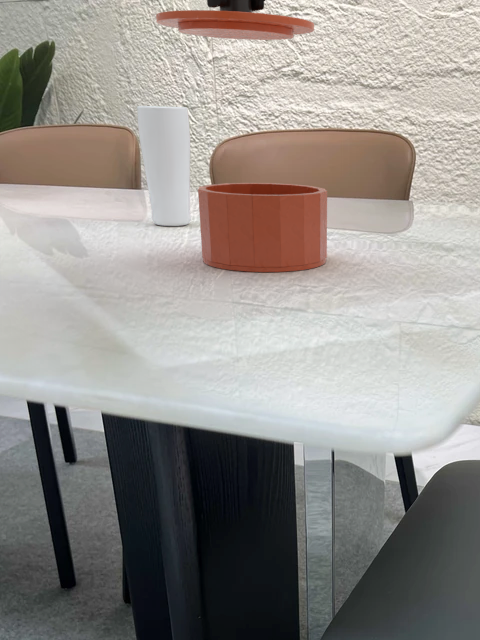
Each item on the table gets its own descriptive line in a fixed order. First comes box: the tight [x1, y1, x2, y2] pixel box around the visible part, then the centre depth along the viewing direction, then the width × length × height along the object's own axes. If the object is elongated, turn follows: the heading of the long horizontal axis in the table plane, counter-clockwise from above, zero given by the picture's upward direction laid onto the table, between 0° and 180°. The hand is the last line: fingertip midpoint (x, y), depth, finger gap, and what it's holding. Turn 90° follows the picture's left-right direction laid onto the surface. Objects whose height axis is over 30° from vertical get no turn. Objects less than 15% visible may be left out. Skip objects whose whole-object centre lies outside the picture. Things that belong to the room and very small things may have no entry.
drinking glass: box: [136, 105, 192, 227], centre depth 106 cm, size 7×7×15 cm
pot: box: [197, 182, 328, 273], centre depth 84 cm, size 14×14×8 cm
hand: (235, 6), depth 72 cm, fingers closed on lid, 3 cm apart
